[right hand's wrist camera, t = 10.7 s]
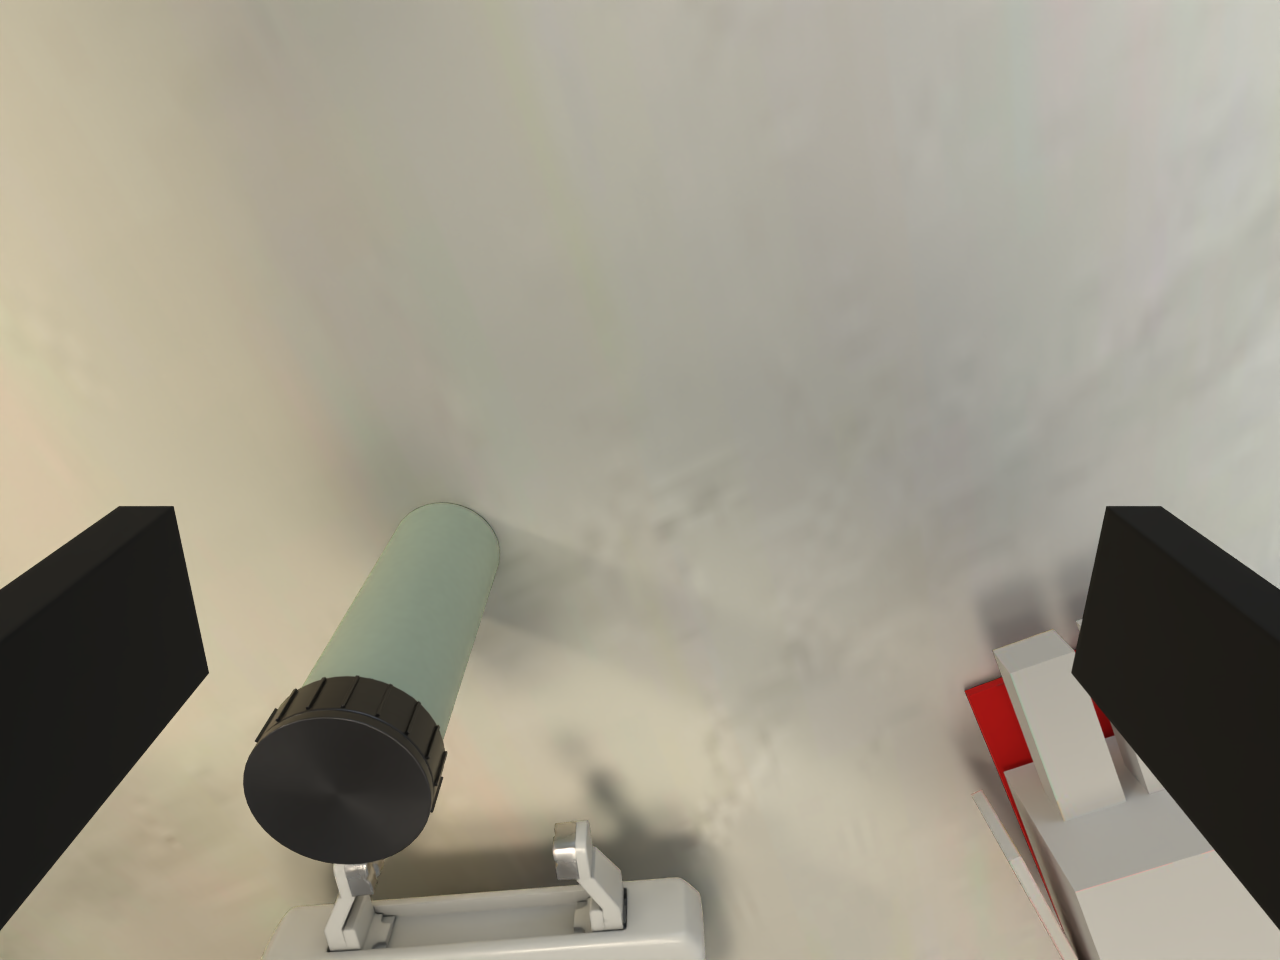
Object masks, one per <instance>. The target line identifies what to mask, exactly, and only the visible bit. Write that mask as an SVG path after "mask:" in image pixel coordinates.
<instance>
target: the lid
mask: <svg viewBox="0 0 1280 960" xmlns="http://www.w3.org/2000/svg"><path fill="white" fill-rule="evenodd" d="M439 729H440V726H439V725H437V724H436V723H435V721H434V719H433V718H432V717H431V715H430V714H429V712H428V711H427V710H426V709H425V708H424V707H423V706H422V705H421V702H420V701H417V700H415V698H413V697H412V696H410V695H409V694H407V693H406V692H404V691H402V690H400V689H398V688H396V687H395V686H393V685H392V684H387V683H385V682H382V681H378V680H375V679H371V678H365V677H360V676H358V675H356V676H337V677H330V678H326V677H322V679H321V680H318V681H315V682H312V683H310V684H308V685H305V686H303V687H302V688H300V689H298V690H297V689H294V690H293V691H292V693H291V695H290V696H289V697H288V698H287V699H286V700H285V701H284V702H283V703H282V704H281V705H280V707H279V708H278V709H276V708H275V709H274V711H273V713H272V714H271V716H270V717H269V719H268V721H267V722H266V724H265V725H264V727H263V729H262V730H261V732H260V733H259V735H258V737H257V738H256V740H255V742H257V744H256V746H255V747H254V749H253V751H252V752H251V754H250V755H249V758H248V760H247V763H246V766H245V770H244V780H243V786H244V793H245V797H246V800H247V804H248V806H249V808H250V810H251V812H252V814H253V816H254V817H255V819H256V820H257V822H258V823H259V824H260V825H261V827H262V828H263V829H264V830H265V831H266V832H267V833H268V834H269V835H270V836H271V837H272V838H274V839H275V840H276V841H278V842H279V843H280V844H282V845H283V846H285V847H287V848H288V849H290V850H292V851H294V852H296V853H298V854H300V855H303V856H305V857H308V858H311V859H314V860H318V861H322V862H327V863H333V864H346V865H352V864H364V863H371V862H375V861H379V860H382V859H385V858H387V857H390V856H392V855H394V854H396V853H398V852H400V851H402V850H403V849H404V848H406V847H407V846H408V845H410V844H411V843H412V842H413V841H414V840H415V839H416V838H417V837H418V835H419V834H420V833H421V831H422V830H423V828H424V826H425V825H426V823H427V821H428V817H429V814H430V812H433V810H434V807H435V803H436V800H437V797H438V793H439V790H440V787H441V783H442V780H443V777H441V775H442V771H443V768H444V763H445V760H446V757H447V751H445V749H444V743H443V739H442V736H441V733H440V730H439Z"/></svg>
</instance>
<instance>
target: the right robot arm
mask: <svg viewBox="0 0 1280 960" xmlns="http://www.w3.org/2000/svg"><path fill="white" fill-rule="evenodd" d="M208 674H209V671H208V666H207V661H206V657H205V652H204V647H203V643H202V638H201V633H200V628H199V624H198V619H197V614H196V610H195V605H194V600H193V595H192V591H191V586H190V581H189V577H188V572H187V567H186V562H185V558H184V553H183V548H182V544H181V539H180V534H179V530H178V525H177V520H176V515H175V511H174V506H119V507H117V508H116V509H115V510H113V511H112V512H110V513H109V514H107V515H106V516H105V517H103V518H102V519H100V520H99V521H97V522H96V523H95V524H93V525H92V526H90V527H89V528H87V529H86V530H85V531H83V532H82V533H80V534H79V535H78V536H76V537H75V538H73V539H72V540H70V541H69V542H68V543H66V544H65V545H63V546H62V547H60V548H59V549H58V550H56V551H55V552H53V553H52V554H50V555H49V556H48V557H46V558H45V559H43V560H42V561H40V562H39V563H38V564H36V565H35V566H33V567H32V568H30V569H29V570H28V571H26V572H25V573H23V574H22V575H20V576H19V577H18V578H16V579H15V580H13V581H12V582H11V583H9V584H8V585H6V586H5V587H3V588H2V589H1V590H0V930H1V929H2V928H3V927H4V925H5V924H6V923H7V922H8V920H9V919H10V918H11V917H12V915H13V914H14V913H15V912H16V911H17V909H18V908H19V907H20V906H21V904H22V903H23V902H24V901H25V899H26V898H27V897H28V896H29V894H30V893H31V892H32V891H33V890H34V888H35V887H36V886H37V885H38V883H39V882H40V881H41V880H42V878H43V877H44V876H45V875H46V874H47V872H48V871H49V870H50V869H51V867H52V866H53V865H54V864H55V862H56V861H57V860H58V859H59V857H60V856H61V855H62V854H63V853H64V851H65V850H66V849H67V848H68V846H69V845H70V844H71V843H72V841H73V840H74V839H75V838H76V836H77V835H78V834H79V833H80V832H81V830H82V829H83V828H84V827H85V825H86V824H87V823H88V822H89V820H90V819H91V818H92V817H93V815H94V814H95V813H96V812H97V811H98V809H99V808H100V807H101V806H102V804H103V803H104V802H105V801H106V799H107V798H108V797H109V796H110V795H111V793H112V792H113V791H114V790H115V788H116V787H117V786H118V785H119V783H120V782H121V781H122V780H123V778H124V777H125V776H126V775H127V774H128V772H129V771H130V770H131V769H132V767H133V766H134V765H135V764H136V762H137V761H138V760H139V759H140V757H141V756H142V755H143V754H144V753H145V751H146V750H147V749H148V748H149V746H150V745H151V744H152V743H153V741H154V740H155V739H156V738H157V736H158V735H159V734H160V733H161V732H162V730H163V729H164V728H165V727H166V725H167V724H168V723H169V722H170V720H171V719H172V718H173V717H174V716H175V714H176V713H177V712H178V711H179V709H180V708H181V707H182V706H183V704H184V703H185V702H186V701H187V699H188V698H189V697H190V696H191V695H192V693H193V692H194V691H195V690H196V688H197V687H198V686H199V685H200V683H201V682H202V681H203V680H204V678H205V677H206V676H207V675H208ZM1071 674H1072V675H1073V676H1074V677H1075V678H1076V680H1077V681H1078V682H1079V683H1080V685H1081V686H1082V687H1083V688H1084V690H1085V691H1086V692H1087V693H1088V695H1089V696H1090V697H1091V698H1092V699H1093V701H1094V702H1095V703H1096V704H1097V706H1098V707H1099V708H1100V709H1101V711H1102V712H1103V713H1104V714H1105V716H1106V717H1107V718H1108V719H1109V720H1110V722H1111V723H1112V724H1113V725H1114V727H1115V728H1116V729H1117V730H1118V732H1119V733H1120V734H1121V735H1122V736H1123V738H1124V739H1125V740H1126V741H1127V743H1128V744H1129V745H1130V746H1131V748H1132V749H1133V750H1134V751H1135V753H1136V754H1137V755H1138V756H1139V757H1140V759H1141V760H1142V761H1143V762H1144V764H1145V765H1146V766H1147V767H1148V769H1149V770H1150V771H1151V772H1152V774H1153V775H1154V776H1155V777H1156V778H1157V780H1158V781H1159V782H1160V783H1161V785H1162V786H1163V787H1164V788H1165V790H1166V791H1167V792H1168V793H1169V795H1170V796H1171V797H1172V798H1173V799H1174V801H1175V802H1176V803H1177V804H1178V806H1179V807H1180V808H1181V809H1182V811H1183V812H1184V813H1185V814H1186V815H1187V817H1188V818H1189V819H1190V820H1191V822H1192V823H1193V824H1194V825H1195V827H1196V828H1197V829H1198V830H1199V832H1200V833H1201V834H1202V835H1203V836H1204V838H1205V839H1206V840H1207V841H1208V843H1209V844H1210V845H1211V846H1212V848H1213V849H1214V850H1215V851H1216V853H1217V854H1218V855H1219V856H1220V857H1221V859H1222V860H1223V861H1224V862H1225V864H1226V865H1227V866H1228V867H1229V869H1230V870H1231V871H1232V872H1233V874H1234V875H1235V876H1236V877H1237V878H1238V880H1239V881H1240V882H1241V883H1242V885H1243V886H1244V887H1245V888H1246V890H1247V891H1248V892H1249V893H1250V895H1251V896H1252V897H1253V898H1254V899H1255V901H1256V902H1257V903H1258V904H1259V906H1260V907H1261V908H1262V909H1263V911H1264V912H1265V913H1266V914H1267V915H1268V917H1269V918H1270V919H1271V920H1272V922H1273V923H1274V924H1275V925H1276V927H1277V928H1278V929H1279V930H1280V590H1279V589H1278V588H1277V587H1275V586H1274V585H1272V584H1271V583H1269V582H1268V581H1267V580H1265V579H1264V578H1262V577H1261V576H1260V575H1258V574H1257V573H1255V572H1254V571H1252V570H1251V569H1250V568H1248V567H1247V566H1245V565H1244V564H1242V563H1241V562H1240V561H1238V560H1237V559H1235V558H1234V557H1232V556H1231V555H1230V554H1228V553H1227V552H1225V551H1224V550H1222V549H1221V548H1220V547H1218V546H1217V545H1215V544H1214V543H1212V542H1211V541H1210V540H1208V539H1207V538H1205V537H1204V536H1202V535H1201V534H1200V533H1198V532H1197V531H1195V530H1194V529H1193V528H1191V527H1190V526H1188V525H1187V524H1185V523H1184V522H1183V521H1181V520H1180V519H1178V518H1177V517H1175V516H1174V515H1173V514H1171V513H1170V512H1168V511H1167V510H1165V509H1164V508H1163V507H1161V506H1106V511H1105V515H1104V520H1103V525H1102V529H1101V534H1100V539H1099V544H1098V548H1097V553H1096V558H1095V562H1094V567H1093V572H1092V577H1091V581H1090V586H1089V591H1088V595H1087V600H1086V605H1085V610H1084V614H1083V619H1082V624H1081V628H1080V633H1079V638H1078V643H1077V647H1076V652H1075V657H1074V661H1073V666H1072V671H1071Z"/></svg>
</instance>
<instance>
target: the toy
mask: <svg viewBox="0 0 1280 960" xmlns="http://www.w3.org/2000/svg"><path fill="white" fill-rule="evenodd" d="M1076 624H1077V626H1078V629H1079V632H1080V628H1081V624H1082V619H1080V620H1077V621H1076ZM992 651H993V654H994V656H995V659H996V662H997V664H998V667H999V670H1000V673H1001V675H1002V677H1001V678H998V679H995V680H993V681H990V682H987V683H984V684H982V685H979V686H976V687H974V688H971V689H968V690H965V693H966V696H967V698H968V700H969V703H970V705H971V708H972V710H973V713H974V715H975V717H976V720H977V722H978V725H979V727H980V730H981V732H982V734H983V737H984V739H985V742H986V744H987V747H988V749H989V751H990V754H991V756H992V759H993V761H994V764H995V766H996V768H997V771H998V773H999V776H1000V778H1001V781H1002V783H1003V785H1004V788H1005V790H1006V793H1007V795H1008V798H1009V800H1010V802H1011V805H1012V807H1013V810H1014V812H1015V815H1016V817H1017V820H1018V822H1019V824H1020V827H1021V829H1022V832H1023V834H1024V837H1025V839H1026V841H1027V844H1028V846H1029V849H1030V851H1031V854H1032V856H1033V858H1034V861H1035V863H1036V866H1037V868H1038V871H1039V873H1040V875H1041V878H1042V880H1043V883H1044V885H1045V888H1046V890H1047V892H1048V895H1049V897H1050V900H1051V902H1052V905H1053V907H1054V909H1055V912H1056V914H1057V917H1058V919H1059V922H1060V924H1061V926H1062V929H1063V931H1064V933H1065V935H1064V933H1063V931H1062V929H1061V928H1060V926H1059V924H1058V922H1057V920H1056V919H1055V917H1054V915H1053V913H1052V911H1051V909H1050V908H1049V906H1048V904H1047V902H1046V900H1045V899H1044V897H1043V895H1042V893H1041V891H1040V889H1039V888H1038V886H1037V884H1036V882H1035V880H1034V878H1033V877H1032V875H1031V873H1030V871H1029V869H1028V868H1027V866H1026V864H1025V862H1024V860H1023V858H1022V857H1021V855H1020V853H1019V851H1018V850H1017V848H1016V846H1015V845H1014V843H1013V841H1012V840H1011V838H1010V836H1009V835H1008V833H1007V831H1006V829H1005V828H1004V826H1003V824H1002V823H1001V821H1000V819H999V818H998V816H997V814H996V813H995V811H994V809H993V808H992V806H991V804H990V802H989V801H988V799H987V797H986V796H985V794H984V792H983V791H982V790H980V791H978V792H976V793H973V794H971V795H972V797H973V799H974V801H975V803H976V804H977V806H978V808H979V810H980V812H981V813H982V815H983V817H984V819H985V821H986V822H987V824H988V826H989V828H990V830H991V831H992V833H993V835H994V837H995V839H996V840H997V842H998V844H999V846H1000V848H1001V849H1002V851H1003V853H1004V855H1005V857H1006V858H1007V860H1008V862H1009V864H1010V866H1011V867H1012V869H1013V871H1014V873H1015V875H1016V876H1017V878H1018V880H1019V882H1020V884H1021V885H1022V887H1023V889H1024V891H1025V893H1026V894H1027V896H1028V898H1029V900H1030V902H1031V903H1032V905H1033V907H1034V909H1035V911H1036V912H1037V914H1038V916H1039V918H1040V920H1041V921H1042V923H1043V925H1044V927H1045V929H1046V930H1047V932H1048V934H1049V936H1050V938H1051V939H1052V941H1053V943H1054V945H1055V947H1056V948H1057V950H1058V952H1059V954H1060V956H1061V957H1062V959H1063V960H1280V930H1279V929H1278V928H1277V927H1276V925H1275V924H1274V923H1273V922H1272V920H1271V919H1270V918H1269V917H1268V915H1267V914H1266V913H1265V912H1264V911H1263V909H1262V908H1261V907H1260V906H1259V904H1258V903H1257V902H1256V901H1255V899H1254V898H1253V897H1252V896H1251V895H1250V893H1249V892H1248V891H1247V890H1246V888H1245V887H1244V886H1243V885H1242V883H1241V882H1240V881H1239V880H1238V878H1237V877H1236V876H1235V875H1234V874H1233V872H1232V871H1231V870H1230V869H1229V867H1228V866H1227V865H1226V864H1225V862H1224V861H1223V860H1222V859H1221V857H1220V856H1219V855H1218V854H1217V853H1216V851H1215V850H1214V849H1213V848H1212V846H1211V845H1210V844H1209V843H1208V841H1207V840H1206V839H1205V838H1204V836H1203V835H1202V834H1201V833H1200V832H1199V830H1198V829H1197V828H1196V827H1195V825H1194V824H1193V823H1192V822H1191V820H1190V819H1189V818H1188V817H1187V815H1186V814H1185V813H1184V812H1183V811H1182V809H1181V808H1180V807H1179V806H1178V804H1177V803H1176V802H1175V801H1174V799H1173V798H1172V797H1171V796H1170V795H1169V793H1168V792H1167V791H1166V790H1165V788H1164V787H1163V786H1162V785H1161V783H1160V782H1159V781H1158V780H1157V778H1156V777H1155V776H1154V775H1153V774H1152V772H1151V771H1150V770H1149V769H1148V767H1147V766H1146V765H1145V764H1144V762H1143V761H1142V760H1141V759H1140V757H1139V756H1138V755H1137V754H1136V753H1135V751H1134V750H1133V749H1132V748H1131V746H1130V745H1129V744H1128V743H1127V741H1126V740H1125V739H1124V738H1123V736H1122V735H1121V734H1120V733H1119V732H1118V730H1117V729H1116V728H1115V727H1114V725H1113V724H1112V723H1111V722H1110V720H1109V719H1108V718H1107V717H1106V716H1105V714H1104V713H1103V712H1102V711H1101V709H1100V708H1099V707H1098V706H1097V704H1096V703H1095V702H1094V701H1093V699H1092V698H1091V697H1090V696H1089V695H1088V693H1087V692H1086V691H1085V690H1084V688H1083V687H1082V686H1081V685H1080V683H1079V682H1078V681H1077V680H1076V678H1075V677H1074V676H1073V675H1072V674H1071V671H1072V666H1073V661H1074V657H1075V652H1076V650H1073V649H1072V648H1071V647H1070V646H1069V645H1068V644H1067V643H1066V642H1065V641H1064V640H1063V638H1062V637H1061V636H1060V635H1059V634H1058V633H1057V632H1056V631H1055V630H1054V629H1052V630H1049V631H1046V632H1043V633H1040V634H1037V635H1035V636H1032V637H1029V638H1026V639H1023V640H1020V641H1017V642H1015V643H1012V644H1009V645H1006V646H1003V647H1000V648H998V649H995V650H992ZM1065 936H1066V937H1065ZM1066 938H1067V939H1066Z"/></svg>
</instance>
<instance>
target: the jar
mask: <svg viewBox="0 0 1280 960" xmlns="http://www.w3.org/2000/svg"><path fill="white" fill-rule="evenodd" d="M499 559H500V550H499V544H498V541H497V538H496V536H495V534H494V532H493V530H492V529H491V527H490V526H489V525H488V523H487V522H486V521H485V520H484V519H483V518H482V517H480V516H479V515H478V514H476V513H475V512H473V511H471V510H470V509H467V508H465V507H463V506H459V505H456V504H450V503H434V504H428V505H425V506H422V507H420V508H418V509H415V510H414V511H412V512H411V513H409V514H408V515H407V516H406V517H405V518H404V519H403V520H402V521H401V523H400V524H399V526H398V527H397V529H396V531H395V532H394V534H393V536H392V537H391V539H390V541H389V542H388V544H387V546H386V547H385V549H384V551H383V552H382V554H381V556H380V557H379V559H378V561H377V562H376V564H375V566H374V567H373V569H372V571H371V572H370V574H369V576H368V577H367V579H366V581H365V582H364V584H363V586H362V588H361V589H360V591H359V593H358V594H357V596H356V598H355V599H354V601H353V603H352V604H351V606H350V608H349V609H348V611H347V613H346V614H345V616H344V618H343V619H342V621H341V623H340V624H339V626H338V628H337V629H336V631H335V633H334V634H333V636H332V638H331V639H330V641H329V643H328V644H327V646H326V648H325V649H324V651H323V653H322V654H321V656H320V658H319V659H318V661H317V663H316V664H315V666H314V668H313V669H312V671H311V673H310V674H309V676H308V678H307V679H306V681H305V683H304V684H303V686H305V685H308V684H310V683H312V682H315V681H318V680H321V679H322V677H326V678H330V677H337V676H356V675H358V676H360V677H365V678H371V679H375V680H378V681H382V682H385V683H387V684H392V685H393V686H395V687H396V688H398V689H400V690H402V691H404V692H406V693H407V694H409V695H410V696H412V697H413V698H415V700H417V701H420V702H421V705H422V706H423V707H424V708H425V709H426V710H427V711H428V712H429V714H430V715H431V717H432V718H433V719H434V721H435V723H436V724H437V725H439V726H440V729H439V730H440V733H441V736H442V739H444V736H445V732H446V729H447V726H448V723H449V720H450V717H451V713H452V710H453V707H454V704H455V701H456V698H457V695H458V691H459V688H460V685H461V682H462V679H463V676H464V672H465V669H466V666H467V663H468V660H469V657H470V653H471V650H472V647H473V644H474V641H475V638H476V634H477V631H478V628H479V625H480V622H481V619H482V615H483V612H484V609H485V606H486V603H487V600H488V596H489V593H490V590H491V587H492V584H493V581H494V577H495V574H496V571H497V568H498V565H499ZM303 686H302V687H303Z"/></svg>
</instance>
